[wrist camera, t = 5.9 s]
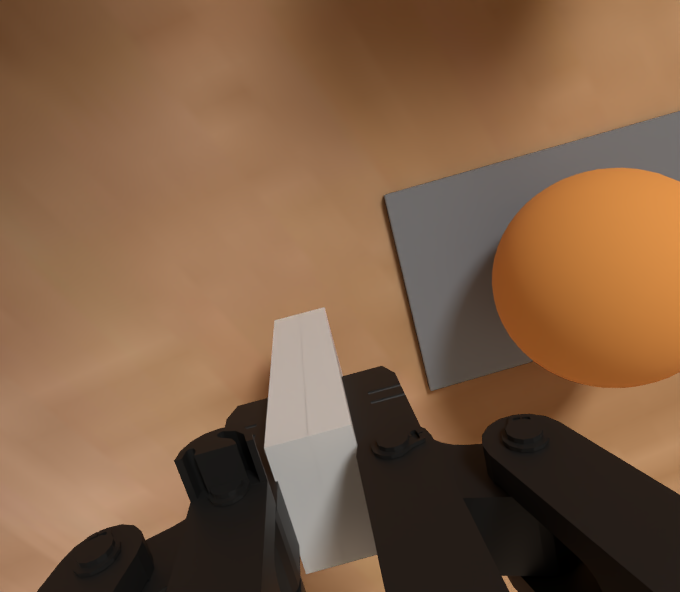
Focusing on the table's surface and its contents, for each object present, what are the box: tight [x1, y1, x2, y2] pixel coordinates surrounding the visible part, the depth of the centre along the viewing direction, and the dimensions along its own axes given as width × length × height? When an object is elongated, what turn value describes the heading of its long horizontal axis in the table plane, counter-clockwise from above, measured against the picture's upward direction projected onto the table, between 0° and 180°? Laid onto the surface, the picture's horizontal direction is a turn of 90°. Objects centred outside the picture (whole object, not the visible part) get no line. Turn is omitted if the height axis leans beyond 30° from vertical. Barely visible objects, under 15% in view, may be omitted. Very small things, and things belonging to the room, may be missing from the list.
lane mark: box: [384, 111, 680, 391], centre depth 17 cm, size 16×7×1 cm, turn 105°
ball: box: [492, 168, 680, 388], centre depth 14 cm, size 6×6×6 cm
